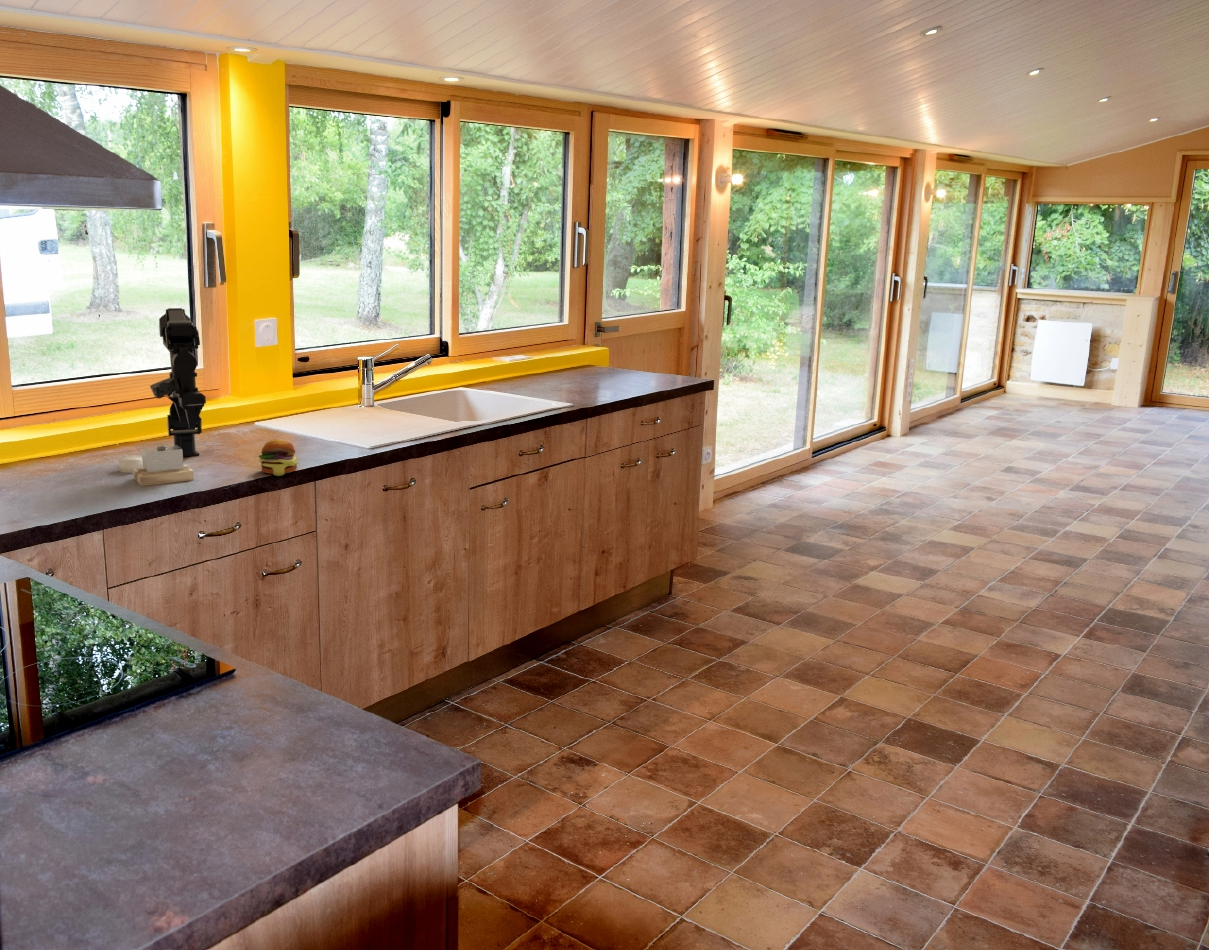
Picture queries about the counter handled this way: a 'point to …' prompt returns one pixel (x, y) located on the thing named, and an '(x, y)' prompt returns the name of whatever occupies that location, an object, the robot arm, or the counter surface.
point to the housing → (162, 459)
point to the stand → (163, 476)
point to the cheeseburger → (278, 457)
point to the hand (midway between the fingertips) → (187, 425)
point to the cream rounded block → (130, 463)
